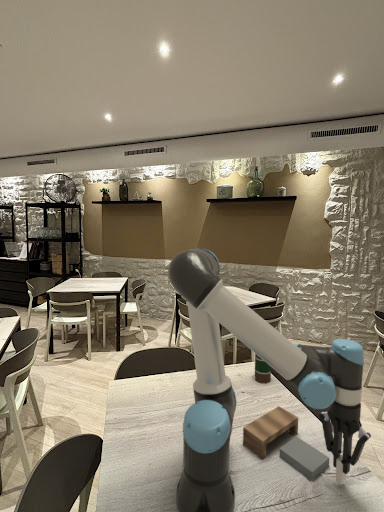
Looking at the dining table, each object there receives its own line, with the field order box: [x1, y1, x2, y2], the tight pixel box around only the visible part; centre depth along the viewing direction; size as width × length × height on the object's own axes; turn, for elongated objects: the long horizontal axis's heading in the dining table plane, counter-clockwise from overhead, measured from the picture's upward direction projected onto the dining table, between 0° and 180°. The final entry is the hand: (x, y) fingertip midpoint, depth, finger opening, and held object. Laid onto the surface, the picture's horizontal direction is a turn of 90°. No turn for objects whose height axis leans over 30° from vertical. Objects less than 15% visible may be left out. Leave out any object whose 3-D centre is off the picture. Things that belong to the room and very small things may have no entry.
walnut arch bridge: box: [242, 406, 299, 460], centre depth 97 cm, size 19×8×6 cm, turn 128°
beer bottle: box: [254, 353, 272, 384], centre depth 136 cm, size 8×8×24 cm
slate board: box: [279, 436, 330, 481], centre depth 88 cm, size 9×11×3 cm
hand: (340, 480), depth 80 cm, fingers closed
